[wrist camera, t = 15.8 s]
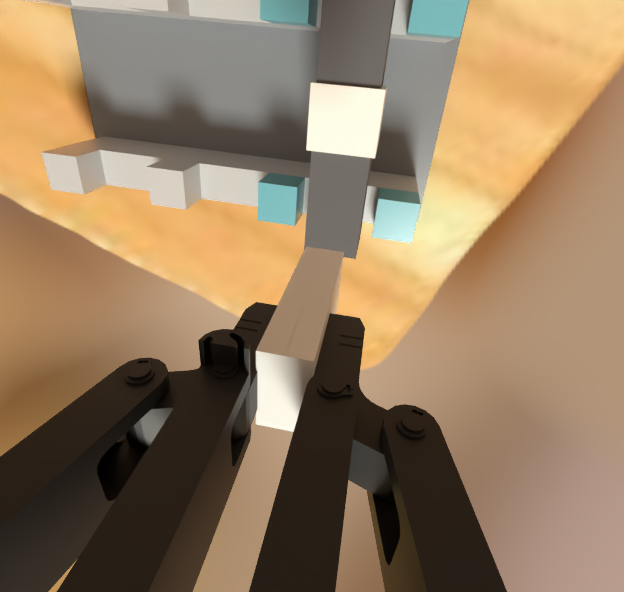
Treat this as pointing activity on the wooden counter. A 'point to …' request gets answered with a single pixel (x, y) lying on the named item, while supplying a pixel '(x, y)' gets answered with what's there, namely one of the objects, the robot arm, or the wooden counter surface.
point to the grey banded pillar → (345, 119)
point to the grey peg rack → (246, 104)
